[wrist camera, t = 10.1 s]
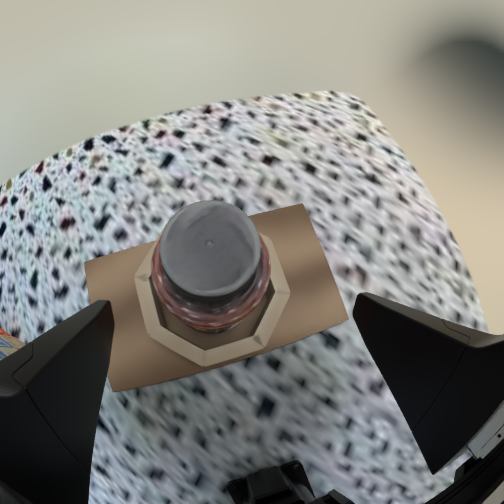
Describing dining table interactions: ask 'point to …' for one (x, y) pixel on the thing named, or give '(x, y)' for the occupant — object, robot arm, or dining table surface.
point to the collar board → (231, 341)
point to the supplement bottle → (210, 266)
